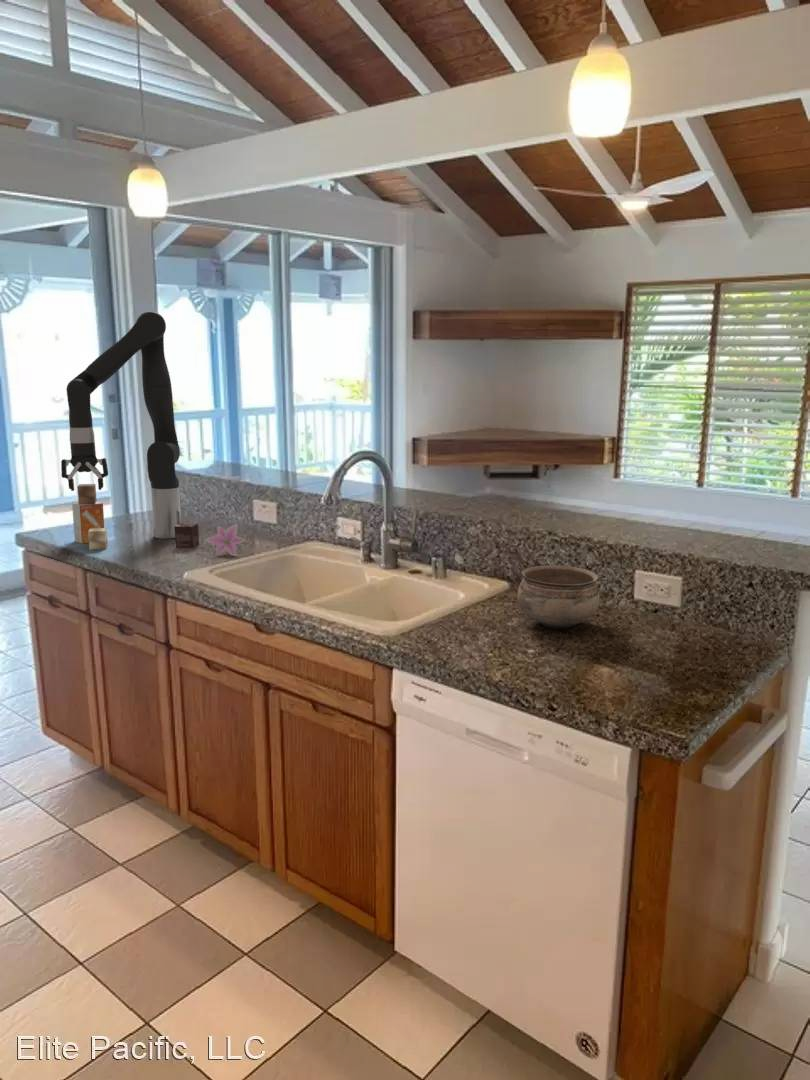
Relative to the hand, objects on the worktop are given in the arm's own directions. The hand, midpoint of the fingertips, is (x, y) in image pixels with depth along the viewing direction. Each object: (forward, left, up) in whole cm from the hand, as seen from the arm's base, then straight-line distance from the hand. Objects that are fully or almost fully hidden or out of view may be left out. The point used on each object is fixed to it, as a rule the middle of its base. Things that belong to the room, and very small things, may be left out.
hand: (86, 490), depth 267 cm
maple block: (-4, +11, -17) cm, 21 cm away
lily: (-44, +26, -18) cm, 55 cm away
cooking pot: (-118, +115, -18) cm, 166 cm away
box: (-32, +14, -18) cm, 39 cm away
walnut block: (0, 0, -4) cm, 4 cm away
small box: (0, 0, -18) cm, 18 cm away
